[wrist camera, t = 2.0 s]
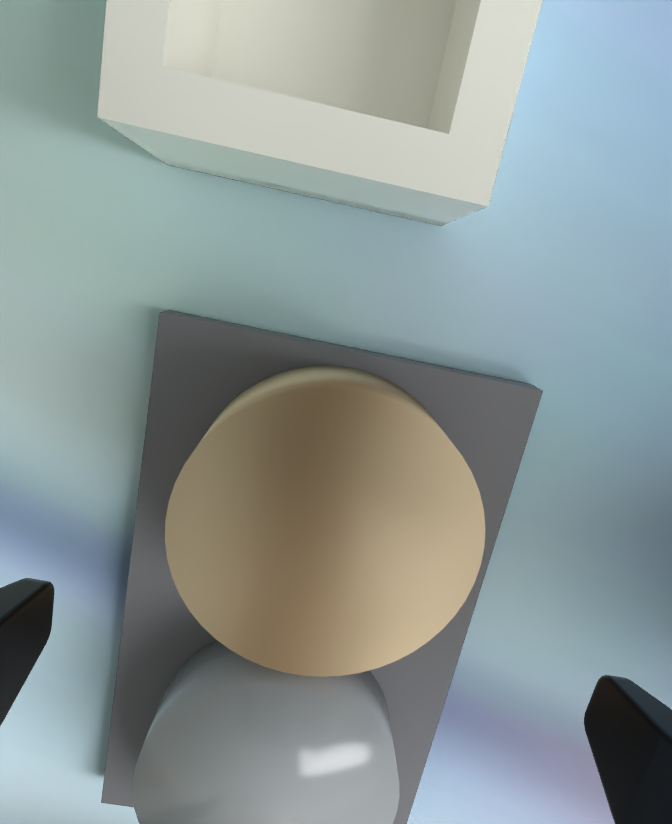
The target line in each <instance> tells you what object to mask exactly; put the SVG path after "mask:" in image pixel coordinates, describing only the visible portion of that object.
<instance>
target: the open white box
mask: <svg viewBox="0 0 672 824" xmlns="http://www.w3.org/2000/svg"><path fill="white" fill-rule="evenodd" d="M541 4H542V0H107V2H106V14H105V26H104V39H103V51H102V63H101V75H100V87H99V100H98V112H97V117H98V118H99V119H101V120H102V121H104V122H105V123H106V124H108V125H109V126H111V127H112V128H114V129H115V130H117V131H118V132H120V133H121V134H123V135H124V136H126V137H127V138H128V139H130V140H131V141H133V142H134V143H136V144H137V145H139V146H140V147H142V148H143V149H145V150H146V151H147V152H149V153H150V154H152V155H153V156H155V157H156V158H158V159H159V160H161V161H162V162H164V163H165V164H167V165H171V166H176V167H180V168H185V169H189V170H193V171H198V172H202V173H207V174H211V175H216V176H220V177H225V178H229V179H234V180H238V181H243V182H247V183H251V184H256V185H260V186H265V187H269V188H274V189H278V190H283V191H287V192H292V193H296V194H301V195H305V196H309V197H314V198H318V199H323V200H327V201H332V202H336V203H341V204H345V205H350V206H354V207H359V208H363V209H367V210H372V211H376V212H381V213H385V214H390V215H394V216H399V217H403V218H408V219H412V220H417V221H421V222H425V223H430V224H434V225H439V226H442V225H445V224H447V223H450V222H452V221H454V220H457V219H459V218H462V217H464V216H466V215H469V214H471V213H474V212H476V211H478V210H481V209H483V208H486V207H488V205H489V201H490V198H491V194H492V190H493V186H494V183H495V179H496V175H497V171H498V167H499V164H500V160H501V156H502V152H503V148H504V145H505V141H506V137H507V133H508V129H509V126H510V122H511V118H512V114H513V110H514V107H515V103H516V99H517V95H518V92H519V88H520V84H521V80H522V76H523V73H524V69H525V65H526V61H527V57H528V54H529V50H530V46H531V42H532V38H533V35H534V31H535V27H536V23H537V19H538V16H539V12H540V8H541Z"/></svg>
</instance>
